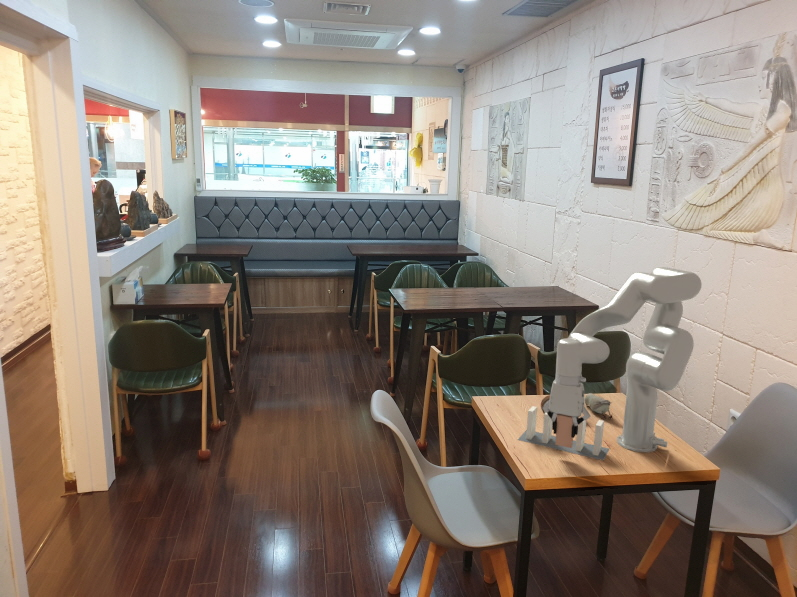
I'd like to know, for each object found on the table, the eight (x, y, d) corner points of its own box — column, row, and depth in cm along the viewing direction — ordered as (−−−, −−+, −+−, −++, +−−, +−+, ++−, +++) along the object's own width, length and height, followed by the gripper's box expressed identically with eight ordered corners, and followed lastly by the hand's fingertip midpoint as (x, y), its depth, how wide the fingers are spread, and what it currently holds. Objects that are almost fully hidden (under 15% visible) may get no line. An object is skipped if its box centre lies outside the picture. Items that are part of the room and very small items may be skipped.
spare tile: (556, 442, 190) (558, 413, 188) (572, 446, 188) (574, 416, 186) (555, 444, 189) (557, 414, 187) (571, 448, 187) (573, 418, 185)
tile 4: (584, 445, 198) (586, 417, 196) (580, 451, 193) (583, 422, 191) (579, 444, 198) (581, 416, 197) (575, 450, 194) (578, 421, 192)
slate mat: (609, 449, 196) (609, 448, 196) (603, 461, 188) (603, 460, 188) (526, 430, 210) (526, 429, 210) (517, 440, 201) (517, 439, 201)
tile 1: (535, 434, 206) (537, 407, 204) (530, 439, 201) (532, 411, 199) (530, 433, 206) (532, 406, 204) (526, 438, 202) (528, 410, 200)
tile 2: (551, 438, 203) (553, 410, 201) (546, 443, 199) (549, 415, 197) (546, 437, 204) (548, 409, 202) (542, 442, 199) (544, 414, 198)
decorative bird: (592, 405, 237) (593, 387, 235) (615, 420, 221) (617, 401, 220) (579, 405, 235) (581, 387, 234) (602, 421, 220) (603, 402, 219)
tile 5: (601, 449, 195) (604, 420, 193) (597, 455, 191) (600, 426, 189) (596, 448, 196) (598, 419, 194) (592, 454, 191) (595, 425, 190)
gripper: (599, 380, 183) (595, 435, 187) (544, 371, 192) (541, 424, 195) (593, 387, 177) (589, 444, 181) (537, 377, 185) (534, 432, 189)
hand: (564, 433), depth 188 cm, fingers closed on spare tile, 4 cm apart
